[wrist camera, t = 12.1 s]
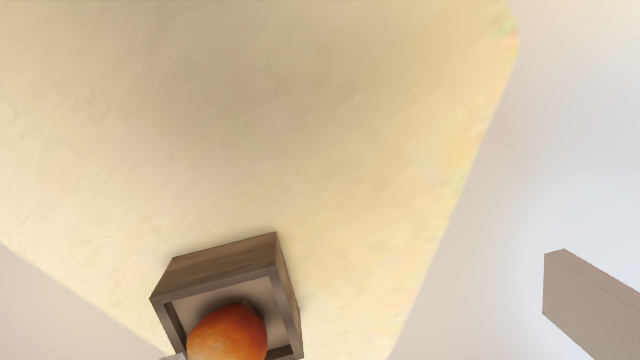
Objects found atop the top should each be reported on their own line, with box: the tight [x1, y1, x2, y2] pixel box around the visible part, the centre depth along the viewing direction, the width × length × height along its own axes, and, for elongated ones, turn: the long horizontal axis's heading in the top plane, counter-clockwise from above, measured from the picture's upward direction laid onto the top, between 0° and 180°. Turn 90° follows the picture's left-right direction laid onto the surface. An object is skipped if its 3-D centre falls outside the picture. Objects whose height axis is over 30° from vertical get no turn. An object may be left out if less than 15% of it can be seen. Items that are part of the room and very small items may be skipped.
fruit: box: [186, 293, 268, 360], centre depth 32 cm, size 8×8×8 cm
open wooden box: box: [149, 232, 304, 360], centre depth 37 cm, size 13×13×8 cm
